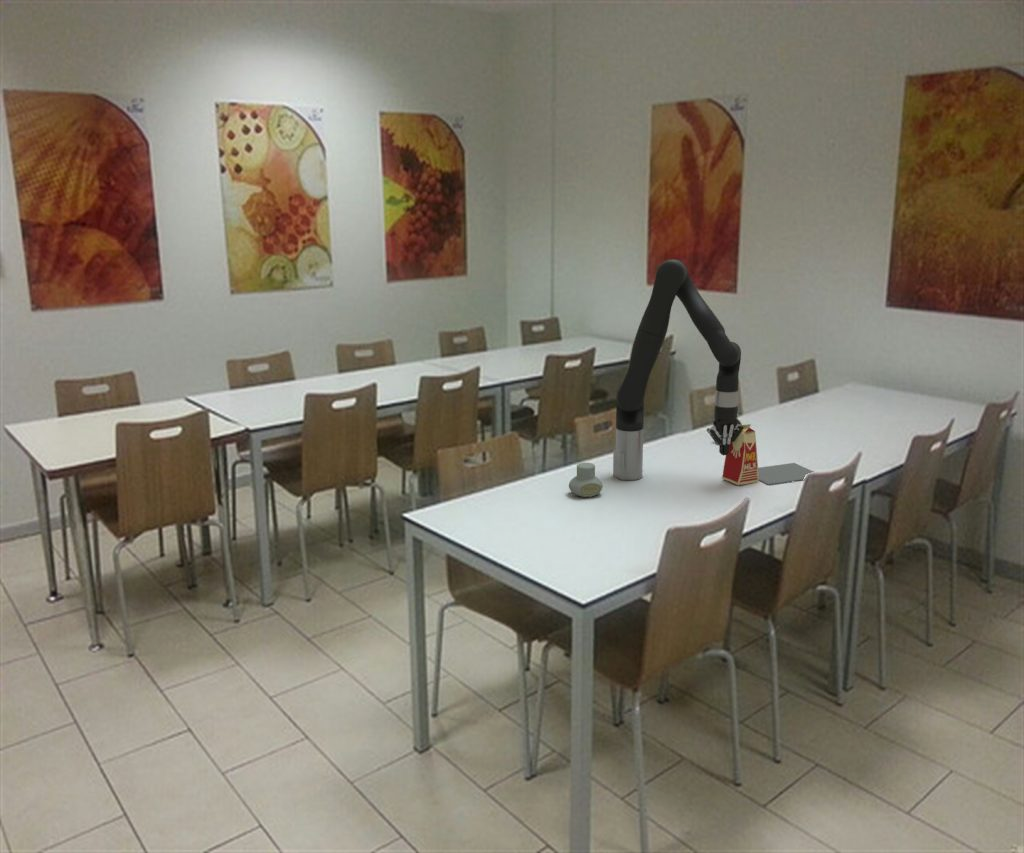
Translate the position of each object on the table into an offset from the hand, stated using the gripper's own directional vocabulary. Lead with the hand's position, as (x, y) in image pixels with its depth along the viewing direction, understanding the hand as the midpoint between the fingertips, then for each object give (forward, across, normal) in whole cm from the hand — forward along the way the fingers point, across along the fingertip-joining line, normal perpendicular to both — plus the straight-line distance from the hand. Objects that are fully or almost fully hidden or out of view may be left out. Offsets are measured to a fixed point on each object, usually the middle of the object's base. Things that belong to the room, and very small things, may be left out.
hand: (724, 454), depth 284 cm
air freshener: (+10, -47, +7) cm, 48 cm away
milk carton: (+10, +6, 0) cm, 12 cm away
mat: (+10, +23, 0) cm, 25 cm away
